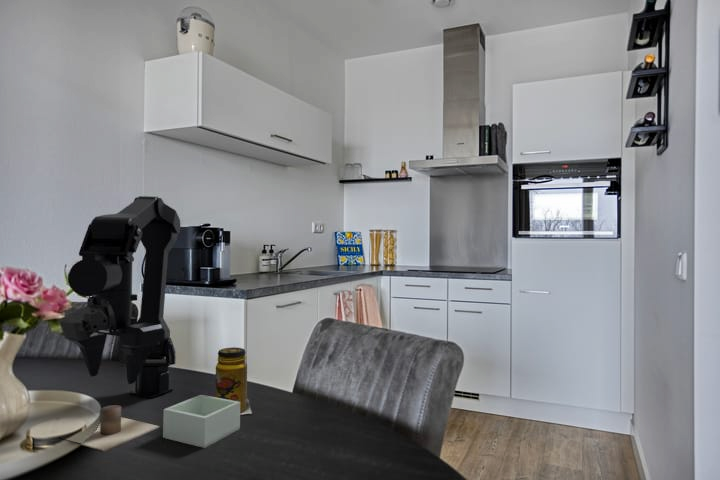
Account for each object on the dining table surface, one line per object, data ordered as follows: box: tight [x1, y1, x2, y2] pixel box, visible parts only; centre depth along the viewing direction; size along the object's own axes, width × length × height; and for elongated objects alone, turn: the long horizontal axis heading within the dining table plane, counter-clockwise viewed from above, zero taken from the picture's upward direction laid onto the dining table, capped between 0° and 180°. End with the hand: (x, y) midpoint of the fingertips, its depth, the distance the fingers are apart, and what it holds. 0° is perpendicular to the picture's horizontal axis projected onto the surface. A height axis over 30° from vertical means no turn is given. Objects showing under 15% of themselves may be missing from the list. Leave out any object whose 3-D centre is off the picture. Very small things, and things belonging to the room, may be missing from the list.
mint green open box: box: [162, 394, 241, 449], centre depth 85 cm, size 9×9×5 cm
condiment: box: [214, 346, 253, 416], centre depth 98 cm, size 7×8×12 cm
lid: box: [80, 404, 160, 452], centre depth 85 cm, size 11×11×5 cm
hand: (112, 379), depth 85 cm, fingers open, 9 cm apart
